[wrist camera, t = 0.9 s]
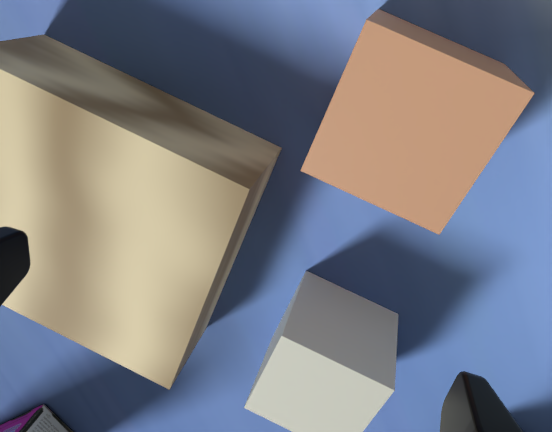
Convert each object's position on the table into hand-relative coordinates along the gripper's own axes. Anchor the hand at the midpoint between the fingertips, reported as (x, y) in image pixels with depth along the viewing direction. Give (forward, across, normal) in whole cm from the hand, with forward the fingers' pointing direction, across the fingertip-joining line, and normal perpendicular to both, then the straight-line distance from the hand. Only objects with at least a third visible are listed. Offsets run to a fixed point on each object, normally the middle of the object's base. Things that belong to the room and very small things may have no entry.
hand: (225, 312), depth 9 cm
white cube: (+12, -2, +10) cm, 16 cm away
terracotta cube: (+12, -3, -2) cm, 13 cm away
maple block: (+13, +9, +6) cm, 16 cm away
